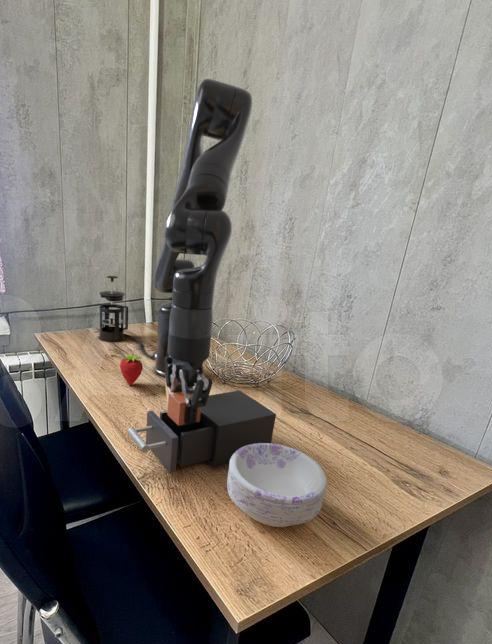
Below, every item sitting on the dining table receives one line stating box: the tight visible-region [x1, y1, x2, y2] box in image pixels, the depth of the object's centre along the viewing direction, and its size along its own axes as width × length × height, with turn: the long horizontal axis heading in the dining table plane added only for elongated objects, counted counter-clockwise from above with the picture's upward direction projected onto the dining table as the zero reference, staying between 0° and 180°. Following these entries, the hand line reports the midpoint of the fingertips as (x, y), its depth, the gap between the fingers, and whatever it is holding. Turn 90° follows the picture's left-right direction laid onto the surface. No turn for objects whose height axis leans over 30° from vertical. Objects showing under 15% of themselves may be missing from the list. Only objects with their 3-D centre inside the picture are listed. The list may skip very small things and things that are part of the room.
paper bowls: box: [226, 442, 328, 528], centre depth 65 cm, size 15×15×8 cm
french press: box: [98, 275, 129, 343], centre depth 146 cm, size 12×9×23 cm
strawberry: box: [119, 351, 144, 386], centre depth 109 cm, size 6×8×10 cm
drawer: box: [126, 410, 216, 474], centre depth 77 cm, size 17×11×7 cm, turn 117°
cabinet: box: [200, 389, 277, 469], centre depth 82 cm, size 14×12×9 cm
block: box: [167, 391, 201, 426], centre depth 75 cm, size 5×5×5 cm
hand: (183, 416), depth 76 cm, fingers closed on block, 4 cm apart
